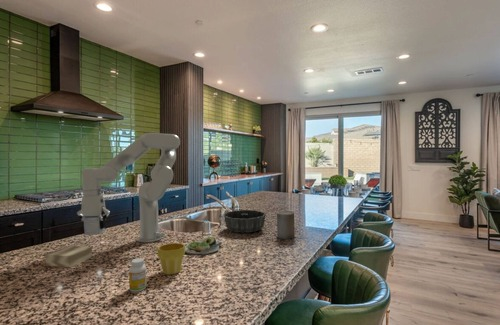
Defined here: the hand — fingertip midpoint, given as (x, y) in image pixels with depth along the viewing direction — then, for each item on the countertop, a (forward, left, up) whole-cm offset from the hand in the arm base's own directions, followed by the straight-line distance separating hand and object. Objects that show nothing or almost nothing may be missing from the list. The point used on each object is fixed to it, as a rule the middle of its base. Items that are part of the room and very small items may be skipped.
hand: (94, 228), depth 136 cm
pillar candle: (-94, -29, -11) cm, 99 cm away
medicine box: (0, 0, -3) cm, 3 cm away
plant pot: (-48, +23, -11) cm, 54 cm away
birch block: (+1, +16, -11) cm, 19 cm away
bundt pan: (-69, -43, -11) cm, 83 cm away
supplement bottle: (-42, +38, -11) cm, 58 cm away
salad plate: (-53, -5, -11) cm, 55 cm away
